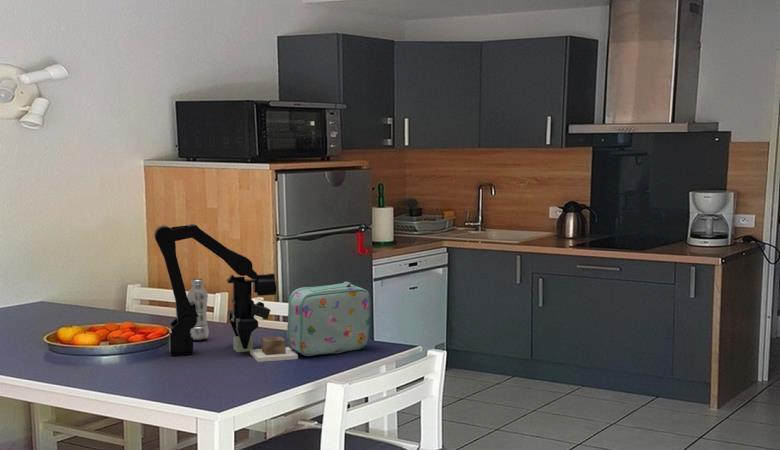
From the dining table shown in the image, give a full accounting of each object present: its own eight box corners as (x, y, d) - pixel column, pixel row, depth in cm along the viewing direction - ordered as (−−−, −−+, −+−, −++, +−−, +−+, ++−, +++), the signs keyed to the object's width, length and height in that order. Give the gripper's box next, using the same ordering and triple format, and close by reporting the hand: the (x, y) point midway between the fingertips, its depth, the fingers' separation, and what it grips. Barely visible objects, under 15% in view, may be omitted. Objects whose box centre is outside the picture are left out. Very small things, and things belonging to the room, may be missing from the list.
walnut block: (265, 355, 274) (265, 341, 274) (261, 350, 280) (261, 337, 279) (285, 353, 276) (285, 340, 276) (281, 349, 282) (281, 336, 281)
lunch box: (356, 343, 297) (356, 277, 295) (374, 349, 289) (375, 281, 287) (284, 354, 281) (283, 284, 280) (301, 360, 273) (301, 288, 271)
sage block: (236, 352, 284) (236, 339, 283) (233, 349, 288) (233, 336, 288) (252, 351, 286) (252, 338, 285) (248, 347, 290) (248, 335, 290)
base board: (258, 362, 270) (258, 358, 270) (249, 353, 282) (249, 349, 282) (297, 359, 274) (297, 355, 274) (288, 350, 286) (288, 346, 286)
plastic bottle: (206, 342, 298) (205, 280, 296) (185, 342, 298) (184, 280, 296) (210, 338, 304) (210, 278, 302) (190, 337, 304) (189, 277, 303)
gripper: (274, 299, 280) (275, 350, 281) (261, 290, 297) (262, 338, 298) (238, 301, 276) (238, 353, 277) (227, 292, 293) (227, 341, 294)
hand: (242, 346), depth 287 cm, fingers open, 8 cm apart
